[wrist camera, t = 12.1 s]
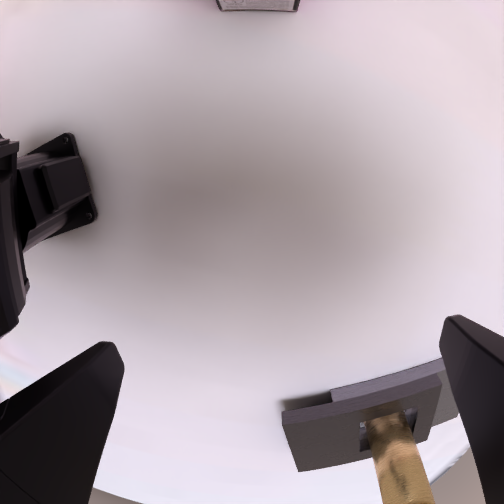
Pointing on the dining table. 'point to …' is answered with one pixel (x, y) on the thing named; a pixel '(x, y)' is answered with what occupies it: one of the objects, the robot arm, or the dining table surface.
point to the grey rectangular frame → (368, 415)
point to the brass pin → (397, 461)
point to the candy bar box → (258, 5)
